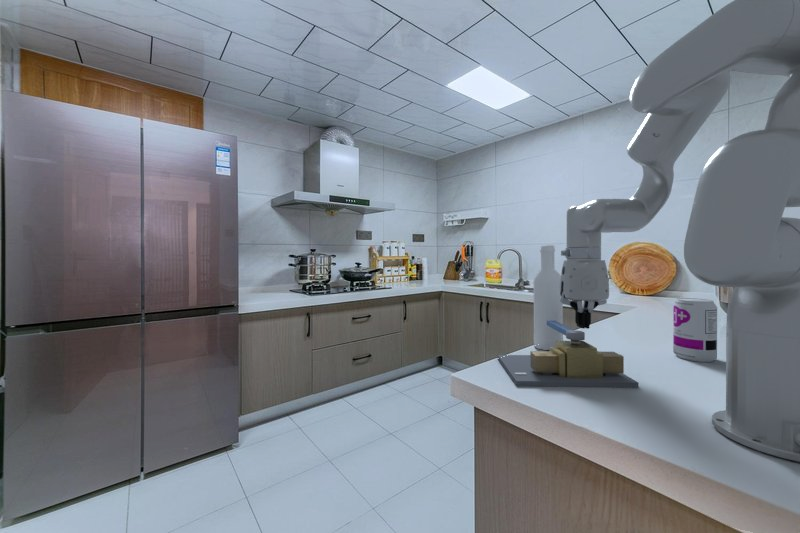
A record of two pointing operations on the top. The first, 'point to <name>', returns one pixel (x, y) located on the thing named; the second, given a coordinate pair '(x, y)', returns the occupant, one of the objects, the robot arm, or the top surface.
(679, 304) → the supplement can
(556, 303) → the bottle
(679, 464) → the top surface
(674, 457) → the top surface
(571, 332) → the lever
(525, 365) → the base plate
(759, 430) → the robot arm
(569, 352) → the valve
